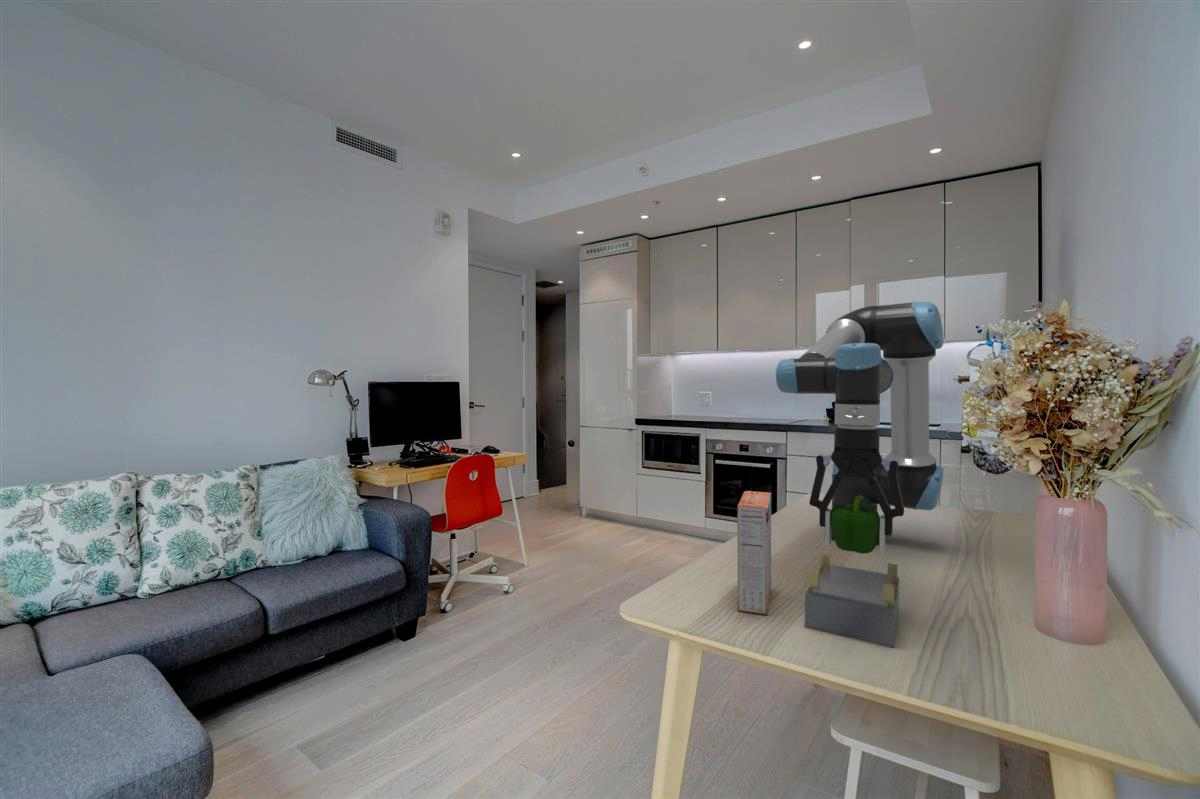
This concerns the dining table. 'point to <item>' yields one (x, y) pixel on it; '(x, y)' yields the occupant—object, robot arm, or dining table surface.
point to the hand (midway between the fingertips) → (854, 547)
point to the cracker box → (754, 552)
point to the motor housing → (853, 602)
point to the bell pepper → (855, 527)
